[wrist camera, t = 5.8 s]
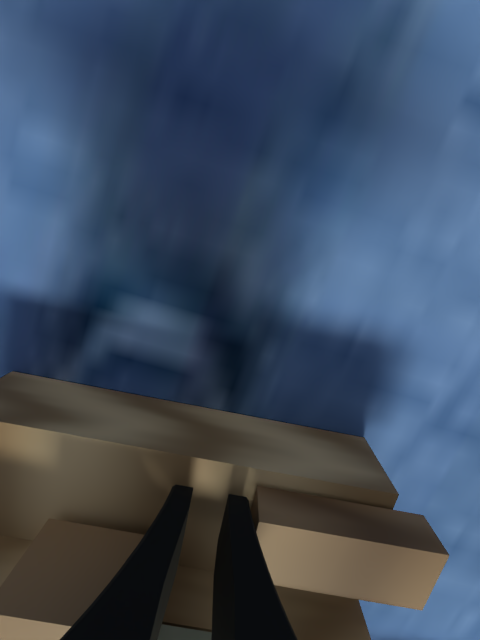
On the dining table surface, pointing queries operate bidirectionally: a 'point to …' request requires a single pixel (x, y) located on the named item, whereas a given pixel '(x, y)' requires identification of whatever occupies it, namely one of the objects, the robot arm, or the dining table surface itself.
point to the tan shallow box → (170, 481)
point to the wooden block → (347, 548)
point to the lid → (67, 581)
